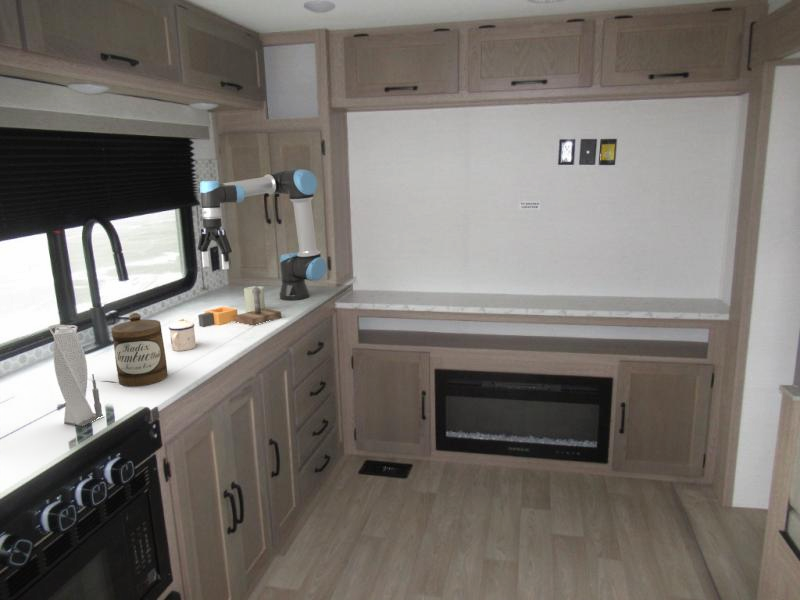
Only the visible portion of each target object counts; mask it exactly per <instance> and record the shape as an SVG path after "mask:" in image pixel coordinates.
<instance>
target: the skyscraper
mask: <svg viewBox="0 0 800 600" xmlns="http://www.w3.org/2000/svg"><path fill="white" fill-rule="evenodd" d="M47 328H48V330H49V332H50V333H51V334H52V337H53V365H54V371H55V372H54V373H55V376H56V380H57V384H58V386H59V390H60V392H61V394H62V397H63V399H64V401H65V408H64V418H63V423H64V424H65V425H70V426H75V425H78V426H77V427H81V426H82V428H84V427H86V426H88V425H89V424H88V423H90V422H92V421H94V420H96V419H97V418H98V417H101V416H103V415H104V414H103V411H102V403H101V401H100V400H101V399H100V393H99V388H97V381H96V379H95V376H94V375H95V374H94V373H92V374H91V375H92V380H91V382H92V387H93V388H92V390H91V391H92V396H93V402H94V404H93V407H94V408H93V409H94V412H95V413H94V412H93V410H92V408H91V406H90V404H89V402H88V400H87V397H86V395H87V388H88V364H87V358H86V354H85V351H84V348H83V346H82V342H81V340H80V339H79V336H78V334H77V331H78V326H77V325H72V324H71V325H67V324H53V325H50V326H48V327H47ZM52 328H54V330H53V329H52ZM94 422H95V421H94ZM92 423H93V422H92ZM87 424H88V425H87ZM90 424H91V423H90ZM85 425H86V426H85ZM83 426H84V427H83Z"/></svg>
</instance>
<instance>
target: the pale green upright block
mask: <svg viewBox="0 0 800 600" xmlns="http://www.w3.org/2000/svg"><path fill="white" fill-rule="evenodd" d="M255 287H257V288H259V289H260V294H259V297H260V308H261V309H262V308H265V309H266V304H265V303H266V302H265V290H264V286H258V285H255V286H254V285H253V286H248V287H244V288H243V294H244V295H243V296H244V306H245V307H244V308H245V313H247V312H251V311H254V310H255V304H254V295H253V293H252V290H253V288H255Z"/></svg>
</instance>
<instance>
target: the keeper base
mask: <svg viewBox="0 0 800 600" xmlns="http://www.w3.org/2000/svg"><path fill="white" fill-rule="evenodd" d="M252 293H253V295H254V304H255V310H254V311H251V312H247V313H246V312H243V313H239V314H238V315H235V321H234V322H235V323H237V322H239V323H238V324H241V323H244V324H243V325H246V324H249V325H248V326H251V325H255V326H257V325H256V324H258V325H260V324H259V323H262V324H264V323H263V322H265V323H267V322H266V321H269V320H272V321H275V320H274V319H276V320H278V319H277V318H279V319H282V311H281V310H275V309H271V308H266V307H265V308H262V309H261V308H260V297H259V294H260V289H259V288H257V287H255V288H253V290H252ZM269 322H270V321H269Z"/></svg>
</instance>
